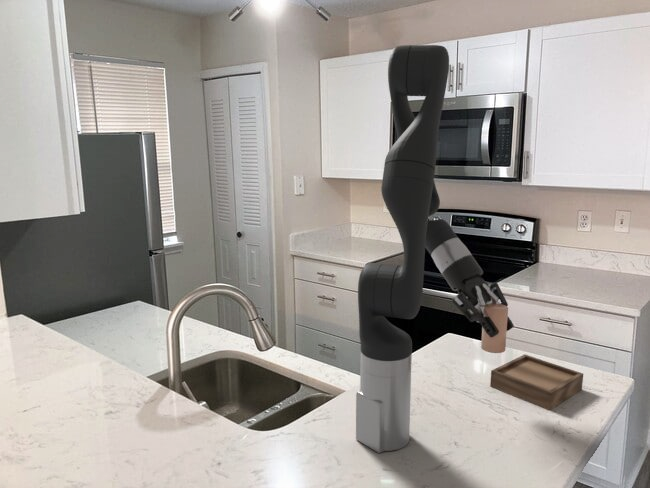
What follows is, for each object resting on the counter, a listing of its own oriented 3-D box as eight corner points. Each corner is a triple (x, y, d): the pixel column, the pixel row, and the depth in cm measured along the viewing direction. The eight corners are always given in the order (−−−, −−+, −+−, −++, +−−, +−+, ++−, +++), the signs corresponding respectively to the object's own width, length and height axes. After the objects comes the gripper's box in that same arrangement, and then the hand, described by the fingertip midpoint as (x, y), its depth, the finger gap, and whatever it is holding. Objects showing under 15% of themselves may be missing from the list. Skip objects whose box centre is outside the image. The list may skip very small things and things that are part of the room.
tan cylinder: (496, 355, 107) (499, 312, 105) (476, 348, 111) (478, 306, 109) (509, 348, 110) (512, 307, 108) (489, 342, 114) (492, 301, 112)
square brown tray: (550, 410, 109) (551, 393, 108) (490, 386, 120) (491, 370, 119) (581, 389, 118) (583, 373, 117) (523, 369, 129) (524, 354, 128)
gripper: (446, 259, 108) (495, 331, 101) (486, 249, 117) (534, 315, 110) (424, 279, 113) (470, 349, 106) (465, 268, 122) (509, 332, 115)
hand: (502, 331), depth 108 cm, fingers closed on tan cylinder, 4 cm apart
